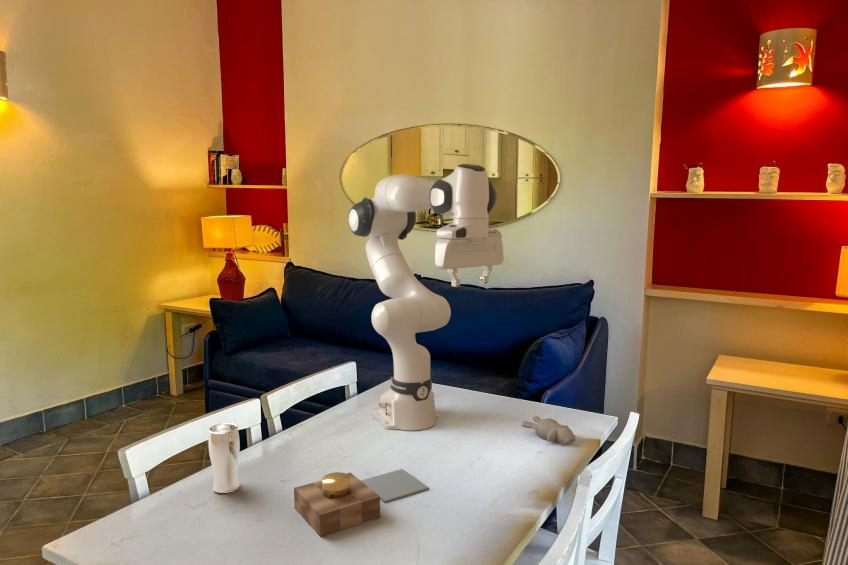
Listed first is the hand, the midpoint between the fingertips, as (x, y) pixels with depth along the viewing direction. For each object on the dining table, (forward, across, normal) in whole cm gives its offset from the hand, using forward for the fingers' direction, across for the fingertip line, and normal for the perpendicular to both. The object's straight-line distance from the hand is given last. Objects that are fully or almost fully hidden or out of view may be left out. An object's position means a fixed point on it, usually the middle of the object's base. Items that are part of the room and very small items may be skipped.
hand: (470, 284), depth 158 cm
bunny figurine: (+47, -28, +2) cm, 55 cm away
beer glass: (+47, +57, -22) cm, 77 cm away
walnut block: (+47, +41, +4) cm, 62 cm away
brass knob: (+47, +41, +4) cm, 62 cm away
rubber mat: (+47, +24, 0) cm, 53 cm away
